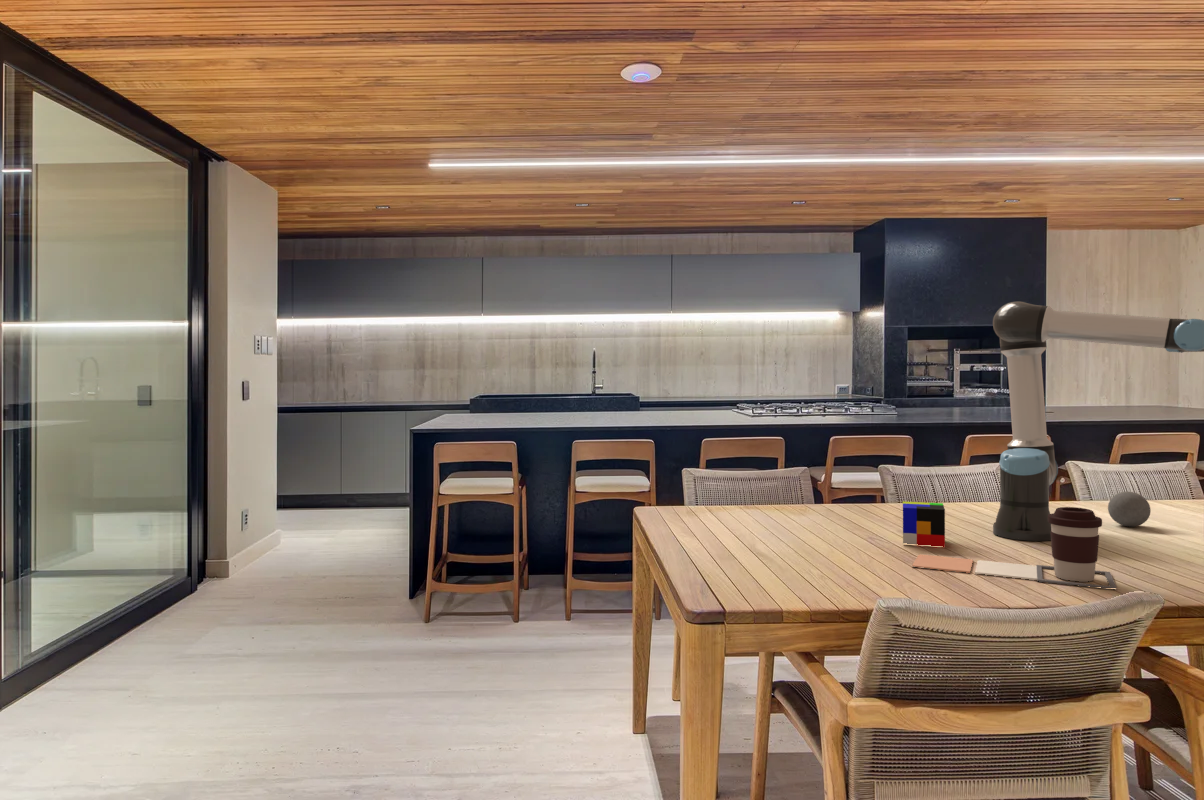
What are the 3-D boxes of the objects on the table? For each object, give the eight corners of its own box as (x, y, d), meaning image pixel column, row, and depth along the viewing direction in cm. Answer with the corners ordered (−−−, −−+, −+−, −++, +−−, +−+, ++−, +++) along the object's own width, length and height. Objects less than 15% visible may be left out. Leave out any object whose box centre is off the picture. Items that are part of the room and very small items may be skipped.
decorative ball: (1124, 530, 207) (1124, 494, 207) (1099, 523, 217) (1099, 489, 217) (1159, 529, 207) (1159, 494, 207) (1133, 522, 217) (1133, 488, 217)
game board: (911, 568, 170) (911, 566, 170) (919, 555, 182) (919, 553, 182) (1116, 590, 151) (1116, 588, 151) (1109, 574, 163) (1109, 571, 163)
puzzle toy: (903, 545, 194) (902, 507, 193) (902, 537, 203) (902, 501, 202) (944, 548, 190) (944, 509, 189) (942, 540, 199) (942, 503, 199)
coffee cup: (1053, 582, 157) (1053, 512, 157) (1043, 570, 167) (1043, 504, 166) (1107, 586, 154) (1108, 514, 154) (1094, 573, 163) (1094, 506, 163)
